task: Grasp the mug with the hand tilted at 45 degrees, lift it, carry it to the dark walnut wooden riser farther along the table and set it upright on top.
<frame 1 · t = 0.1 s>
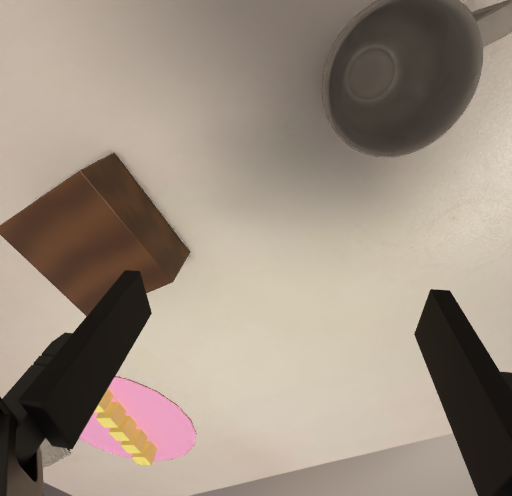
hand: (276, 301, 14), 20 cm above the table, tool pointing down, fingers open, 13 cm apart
mug: (388, 63, 26), on the table
platter: (121, 420, 64), on the table
grey domed piece: (22, 431, 73), on the table
riser: (113, 229, 38), on the table
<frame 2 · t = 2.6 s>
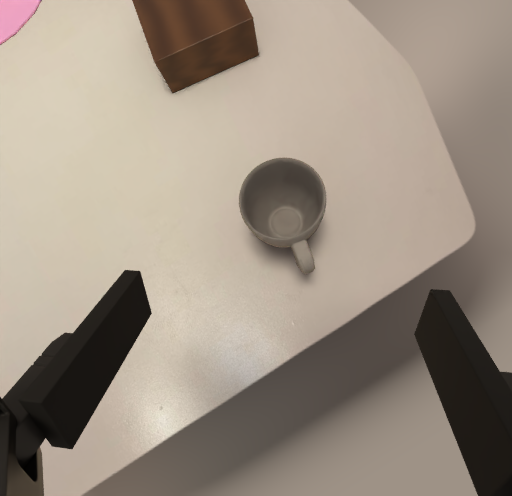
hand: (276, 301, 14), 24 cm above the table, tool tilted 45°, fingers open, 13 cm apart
mug: (290, 234, 40), on the table
riser: (200, 38, 47), on the table
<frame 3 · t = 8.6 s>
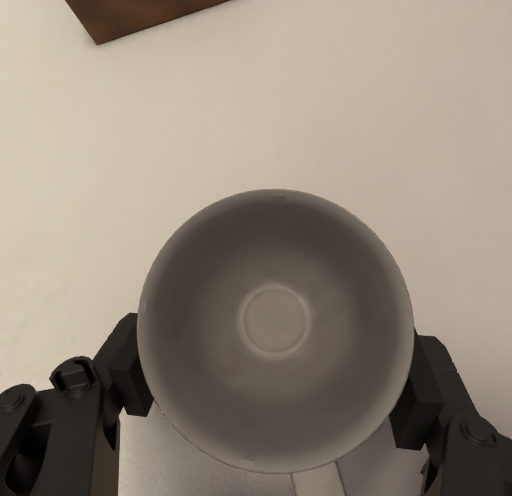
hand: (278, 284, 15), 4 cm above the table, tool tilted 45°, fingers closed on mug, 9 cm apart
mug: (281, 346, 19), on the table, touching gripper
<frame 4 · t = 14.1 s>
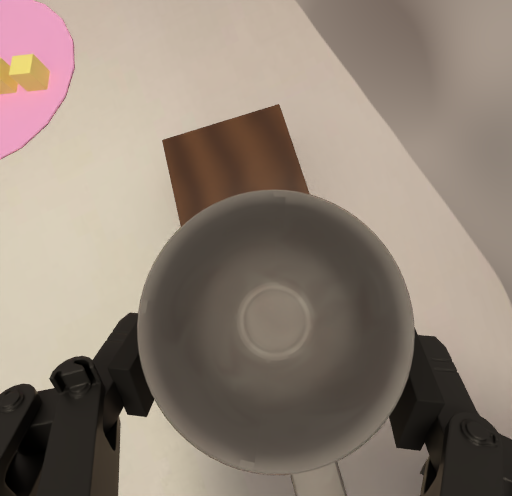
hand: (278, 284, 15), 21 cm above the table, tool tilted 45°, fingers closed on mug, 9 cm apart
mug: (281, 346, 19), point 17 cm above the table, touching gripper
riser: (243, 197, 39), on the table
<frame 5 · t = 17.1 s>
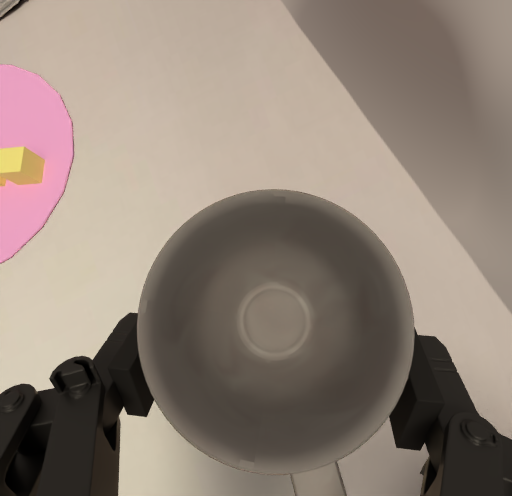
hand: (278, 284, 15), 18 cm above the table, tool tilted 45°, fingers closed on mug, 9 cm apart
mug: (281, 346, 19), point 14 cm above the table, touching gripper
when the fingers open (10 cm above the table, at t = 19.7 s): mug stays where it is, resting on riser.
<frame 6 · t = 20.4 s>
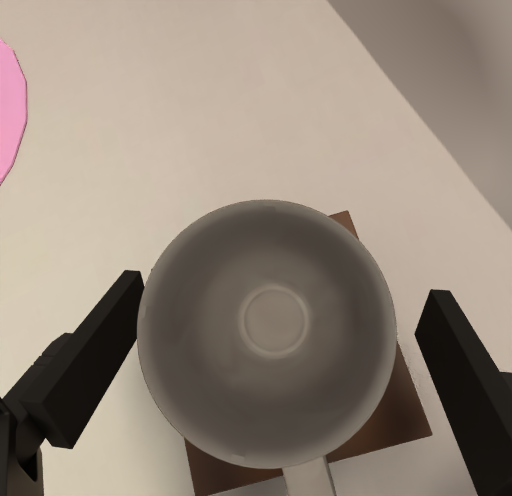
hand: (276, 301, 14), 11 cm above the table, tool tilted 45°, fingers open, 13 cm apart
mug: (281, 345, 19), point 6 cm above the table, touching riser
riser: (280, 337, 25), on the table
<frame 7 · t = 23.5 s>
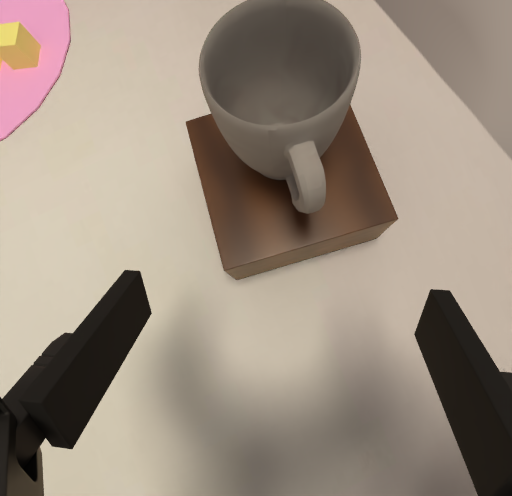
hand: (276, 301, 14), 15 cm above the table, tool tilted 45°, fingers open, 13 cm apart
mug: (286, 168, 26), point 6 cm above the table, touching riser
riser: (284, 194, 31), on the table
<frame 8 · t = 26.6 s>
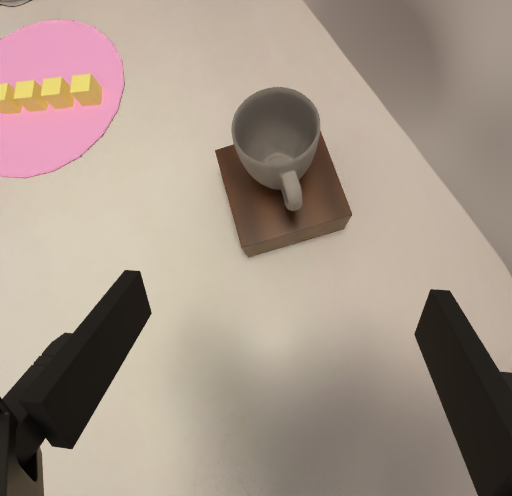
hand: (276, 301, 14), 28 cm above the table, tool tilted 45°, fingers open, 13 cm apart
mug: (282, 182, 39), point 6 cm above the table, touching riser
platter: (38, 95, 54), on the table
riser: (281, 198, 45), on the table
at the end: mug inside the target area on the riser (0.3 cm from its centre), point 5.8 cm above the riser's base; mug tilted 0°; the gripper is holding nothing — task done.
